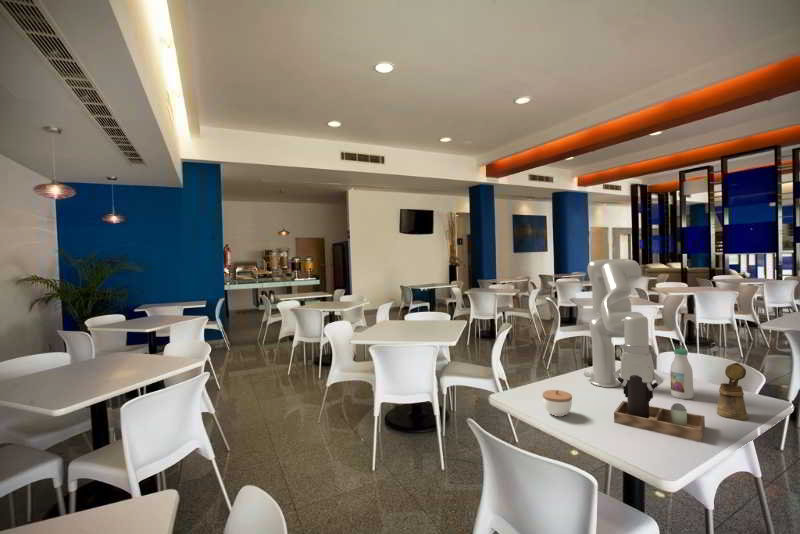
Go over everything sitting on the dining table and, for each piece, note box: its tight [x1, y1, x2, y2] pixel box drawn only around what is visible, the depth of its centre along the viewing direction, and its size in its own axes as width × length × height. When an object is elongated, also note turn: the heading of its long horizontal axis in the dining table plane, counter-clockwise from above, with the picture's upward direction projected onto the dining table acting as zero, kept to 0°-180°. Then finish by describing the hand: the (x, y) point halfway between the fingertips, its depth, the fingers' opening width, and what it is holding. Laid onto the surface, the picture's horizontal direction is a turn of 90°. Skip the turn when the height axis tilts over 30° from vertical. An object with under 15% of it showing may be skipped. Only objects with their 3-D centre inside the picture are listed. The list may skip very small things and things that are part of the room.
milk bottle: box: [669, 348, 694, 400], centre depth 164 cm, size 8×8×20 cm
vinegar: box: [626, 375, 650, 419], centre depth 141 cm, size 7×7×20 cm
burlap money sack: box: [716, 362, 749, 421], centre depth 145 cm, size 9×14×18 cm, turn 127°
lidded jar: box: [542, 389, 573, 417], centre depth 151 cm, size 11×11×9 cm
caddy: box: [613, 400, 706, 443], centre depth 137 cm, size 25×14×4 cm, turn 48°
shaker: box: [670, 402, 688, 427], centre depth 133 cm, size 4×4×9 cm
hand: (638, 397), depth 141 cm, fingers closed on vinegar, 6 cm apart
